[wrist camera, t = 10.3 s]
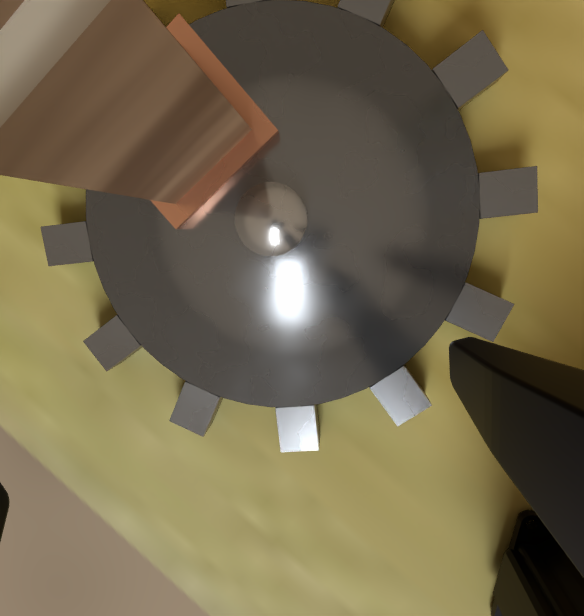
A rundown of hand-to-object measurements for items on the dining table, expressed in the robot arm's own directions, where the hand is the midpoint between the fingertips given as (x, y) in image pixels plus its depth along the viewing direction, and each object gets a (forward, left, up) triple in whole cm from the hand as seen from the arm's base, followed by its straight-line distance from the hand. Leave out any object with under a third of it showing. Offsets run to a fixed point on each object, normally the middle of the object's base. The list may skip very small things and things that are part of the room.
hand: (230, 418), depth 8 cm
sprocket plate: (+1, -4, -13) cm, 13 cm away
